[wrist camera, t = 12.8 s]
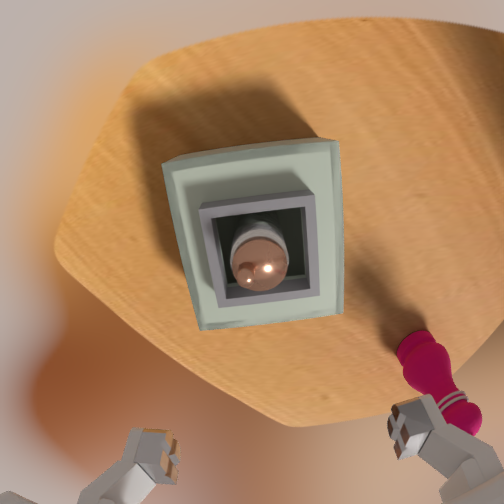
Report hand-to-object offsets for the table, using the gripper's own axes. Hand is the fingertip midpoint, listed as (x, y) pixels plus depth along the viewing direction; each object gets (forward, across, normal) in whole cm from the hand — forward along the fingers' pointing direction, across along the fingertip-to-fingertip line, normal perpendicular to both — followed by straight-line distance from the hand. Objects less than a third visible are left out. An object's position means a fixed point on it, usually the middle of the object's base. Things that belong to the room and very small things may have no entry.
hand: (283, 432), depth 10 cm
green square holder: (+25, 0, 0) cm, 25 cm away
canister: (+24, 0, 0) cm, 24 cm away
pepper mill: (+25, -21, +22) cm, 39 cm away
